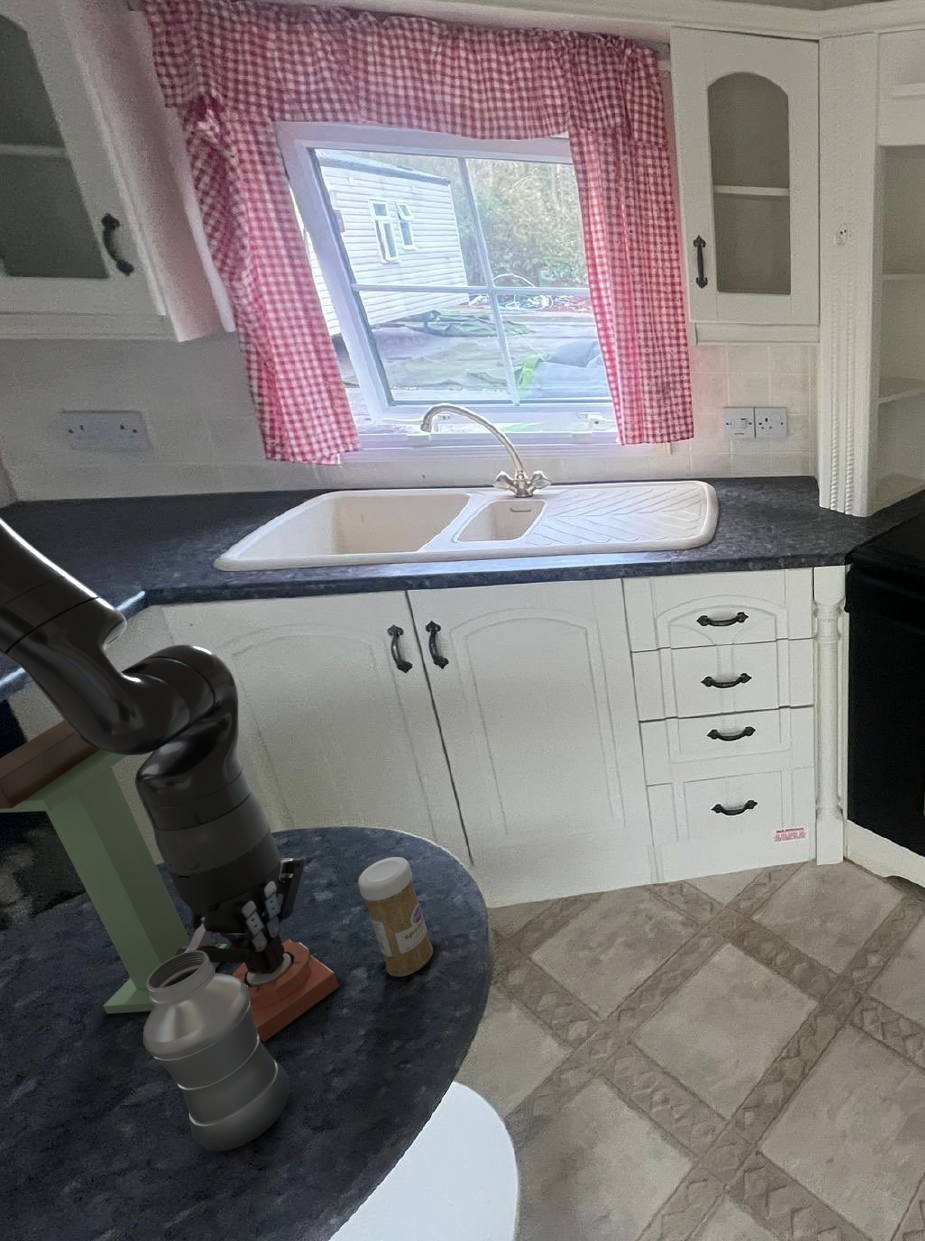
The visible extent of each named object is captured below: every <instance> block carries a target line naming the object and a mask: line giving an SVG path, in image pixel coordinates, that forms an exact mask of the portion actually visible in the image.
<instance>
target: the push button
mask: <svg viewBox="0 0 925 1241" xmlns="http://www.w3.org/2000/svg"><path fill="white" fill-rule="evenodd" d="M283 957H284V961H283V962H282V964H281V965H280V966H279V967H278V968H277V969H276V970H275V971H274V972H273V973H272V974H252V973H250V972H248V974H247V981H248V983H249V986H250V987H260V986H263V985H266V984H268V983H271V982H274V981H275V980H277V979H278V978H280V977H281V976H283V975H284V974H286V973H287V971H288V970H289V969H290V968H291V966H292V965H293V963H292V960H291V958H290V956H289V955H288V954H285V953H284V954H283Z"/></svg>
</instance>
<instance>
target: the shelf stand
mask: <svg viewBox="0 0 925 1241" xmlns="http://www.w3.org/2000/svg"><path fill="white" fill-rule="evenodd" d="M127 756H128V755H118V754H113V753H109V752H106V751H103V750H100V749H99V750H98V751H96V752H95V753H94V754H92V755H91V756H89V757H88V758H86V759H85V760H83V761H82V762H80V763H79V764H77V765H76V766H74V767H73V768H71V769H70V770H68V771H67V772H65V773H64V774H62V775H61V776H59V777H58V778H56V779H55V780H53V781H52V782H50V783H49V784H47V785H46V786H45V787H43V788H42V789H40V790H39V791H37V792H36V793H34V794H33V795H31V796H30V797H28V798H27V799H25V800H24V801H22V802H21V803H19V804H18V805H16V806H15V807H13V808H11V809H0V813H22V812H23V813H24V812H46V814H47V816H48V818H49V820H50V822H51V824H52V826H53V829H54V830H55V833H56V834H57V836H58V838H59V840H60V842H61V844H62V846H63V847H64V849H65V852H66V853H67V855H68V857H69V859H70V861H71V863H72V865H73V868H74V869H75V872H76V873H77V875H78V878H79V879H80V881H81V883H82V885H83V887H84V889H85V891H86V893H87V895H88V897H89V899H90V901H91V903H92V904H93V906H94V909H95V911H96V912H97V915H98V916H99V918H100V920H101V922H102V925H103V926H104V928H105V930H106V932H107V935H108V936H109V938H110V940H111V942H112V945H113V946H114V948H115V950H116V952H117V954H118V957H119V958H120V960H121V962H122V964H123V966H124V967H125V970H126V971H127V974H128V976H129V979H128V980H127V981H126V982H125V983H124V984H123V985H122V986H121V987H120V988H119V989H118V990H117V991H116V992H115V993H114V994H113V995H112V996H111V997H110V998H109V999H108V1000H107V1001H106V1002H105V1003H104V1004H103V1005H102V1007H103V1009H104V1011H105V1012H106V1014H108V1015H110V1014H124V1013H125V1014H126V1013H127V1014H128V1013H141V1012H151V1011H152V1009H153V1008H154V1006H155V1005H153V1004H152V1002H151V1000H150V993H149V991H148V989H147V979H148V977H149V976H150V974H151V973H152V972H153V971H154V970H155V969H156V968H157V967H159V966H160V965H161V964H163V963H164V962H166V961H167V960H169V959H171V958H173V957H175V954H176V952H177V951H178V950H179V949H180V948H181V947H188V946H189V944H190V942H191V939H190V937H189V935H188V933H187V930H186V929H185V926H184V924H183V922H182V919H181V917H180V915H179V913H178V911H177V909H176V906H175V904H174V902H173V900H172V898H171V895H170V893H169V891H168V889H167V887H166V884H165V883H164V880H163V877H162V876H161V873H160V871H159V869H158V867H157V865H156V862H155V861H154V858H153V856H152V853H151V852H150V849H149V847H148V845H147V842H146V841H145V838H144V835H143V834H142V832H141V829H140V827H139V826H138V822H137V821H136V818H135V816H134V813H133V812H132V809H131V807H130V805H129V803H128V801H127V798H126V796H125V794H124V792H123V790H122V788H121V785H120V783H119V781H118V779H117V776H116V774H115V772H114V770H113V767H114V766H115V765H116V764H118V763H119V762H121V761H122V760H123V759H124V758H126V757H127ZM220 944H221V945H220V947H219V948H229V947H230V946H229V944H228V943H223V944H222V943H220ZM211 963H213V965H214V967H215V970H216V969H217V968H218V967H219V965H221V963H222V962H211Z"/></svg>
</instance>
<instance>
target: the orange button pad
mask: <svg viewBox="0 0 925 1241" xmlns="http://www.w3.org/2000/svg"><path fill="white" fill-rule="evenodd" d="M282 944H283V947H284V953H285V954H288V955H289V956H290V958H291V960H292V963H293V965H292V966H291V968H290V969H289V970H288V971H287V973H286V974H284V975H283V976H281V977H280V978H278V979H277V980H275V981H274V982H271V983H268V984H266V985H263V986H260V987H250V986H249V983H248V981H247V974H248V972H249V971H248V969H247V967H246V964H245V962H244V963H241V964H240V965H239V967H237V969H236V970H235V971H234V972H233V973H232V975H231V976H234V977H236V978H237V979H239V980H240V981H242V982H243V983H244V984H245V985H246V986H247V989H248V992H249V995H250V1002H251V1008H252V1014H253V1020H254V1023H255V1026H256V1029H257V1031H258V1035H259V1037H260V1040H261V1042H262V1043H265V1042H266V1041H268V1040H270V1039H271V1038H272V1037H273V1036H274V1035H276V1034H277V1033H279V1032H280V1031H281V1030H283V1029H284V1028H285V1027H286V1026H288V1025H290V1024H291V1023H293V1021H295V1020H297V1019H298V1018H299V1017H300V1016H301V1015H303V1014H304V1013H306V1012H307V1011H308V1010H310V1009H311V1008H313V1007H314V1006H315V1005H316V1004H318V1003H319V1002H321V1001H322V1000H323V999H325V998H326V997H327V996H328V995H330V994H332V993H333V992H334V991H335V990H337V989H338V988H339V987H340V984H339V982H338V979H337V976H336V973H335V972H334V971H333V970H332V969H330V968H329V967H328V966H327V965H325V964H323V963H322V962H321V961H320V960H318V959H317V958H315V956H313V955H312V954H311V951H310V949H309V948H308V947H307V946H305V945H304V944H303V943H301V942H294V941H292V940H291V939H289V938H288V939H287V940H285V941H284V942H282Z"/></svg>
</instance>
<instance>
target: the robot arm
mask: <svg viewBox="0 0 925 1241" xmlns="http://www.w3.org/2000/svg"><path fill="white" fill-rule="evenodd" d="M127 627H128V621H127V618H126V617H125V615H124V614H123V613H122V612H121V611H120V610H119V609H118V608H116V607H115V606H114V605H113V604H111V603H110V602H108V601H107V600H106V599H105V598H102V597H101V596H100V595H99V594H97V593H96V592H95V591H94V590H93V589H91V588H90V587H88V586H87V585H85V584H84V583H82V582H81V581H79V580H78V579H77V578H76V577H75V576H73V575H71V574H70V573H69V572H67V571H66V570H65V569H63V568H62V567H61V566H59V565H58V564H56V563H55V562H53V561H52V560H51V559H50V558H48V557H47V556H45V554H43V553H42V552H40V551H39V550H38V549H37V548H35V547H34V546H33V545H32V544H30V542H28V541H27V540H26V539H25V538H23V537H22V536H21V535H20V534H19V533H18V532H16V530H14V529H13V528H12V527H11V526H10V525H9V524H8V523H7V522H5V520H4V519H3V518H2V517H0V654H1V655H3V656H4V657H6V658H7V659H9V660H10V661H12V662H13V663H15V664H16V665H17V666H19V667H20V668H21V669H22V670H23V671H24V672H25V673H26V674H27V675H28V677H29V678H30V679H31V680H32V682H33V683H34V685H36V686H37V688H38V689H39V690H40V692H41V693H42V694H43V695H44V696H45V698H46V699H47V700H48V701H49V702H50V703H51V704H52V706H53V707H54V709H55V710H56V711H57V712H58V714H59V715H60V716H61V718H62V719H63V720H65V721H66V723H67V724H68V725H69V727H70V728H71V729H72V730H73V731H74V732H75V733H76V734H77V735H78V736H79V737H80V738H81V739H82V740H84V741H85V742H86V743H88V744H90V745H91V746H93V747H95V748H97V749H100V750H103V751H106V752H109V753H113V754H118V755H127V756H142V755H146V754H149V753H151V754H150V755H149V756H148V757H147V758H146V759H145V761H144V762H143V763H142V764H141V765H140V767H139V768H138V770H137V771H136V774H135V777H134V786H135V789H136V792H137V795H138V797H139V799H140V802H141V804H142V806H143V808H144V811H145V812H146V815H147V818H148V819H149V822H150V824H151V826H152V830H153V834H154V840H155V844H156V847H157V849H158V851H159V854H160V856H161V858H162V860H163V863H164V865H165V867H166V870H167V872H168V874H169V876H170V879H171V881H172V883H173V886H174V887H175V889H176V892H177V894H178V897H179V898H180V900H181V901H182V902H183V903H184V904H185V905H186V906H187V907H188V908H189V909H190V910H191V921H190V923H191V927H192V928H193V930H195V931H194V932H193V935H192V937H191V939H190V944H189V946H188V947H181V948H180V949H179V950H178V951H177V952H176V954H175V956H177V955H180V954H182V953H185V952H189V951H195V950H198V951H204V952H205V953H206V954H207V955H208V957H209V960H210V962H221V963H226V964H228V963H231V964H242V963H244V962H245V964H246V967H247V969H248V971H249V972H250V973H252V974H272V973H273V972H274V971H275V970H276V969H277V968H278V967H279V966H280V965H281V964H282V962H283V961H284V957H283V954H284V947H283V944H282V943H283V942H282V939H281V937H280V932H281V924H282V922H283V920H286V919H289V918H290V917H291V915H292V913H293V911H294V906H295V902H296V900H297V899H296V898H297V895H298V890H299V886H300V883H301V879H302V876H303V871H304V867H305V863H306V862H305V859H304V858H292V857H291V858H289V857H280V856H281V855H280V852H279V850H278V847H277V843H276V842H275V839H274V835H273V833H272V830H271V828H270V825H269V822H268V820H267V817H266V815H265V814H266V813H265V812H264V809H263V806H262V805H261V803H260V801H259V798H258V797H257V796H256V795H255V794H256V793H254V791H253V789H252V787H251V785H250V783H249V779H248V777H247V774H246V771H245V769H244V766H243V764H242V761H241V759H240V756H239V754H238V749H239V738H240V737H239V736H240V700H239V691H238V690H239V689H238V685H237V681H236V678H235V676H234V673H233V672H232V669H230V667H229V666H228V664H227V663H226V662H225V661H224V660H223V659H222V658H221V657H220V656H218V655H217V654H216V653H214V652H213V651H211V650H209V649H207V648H205V647H202V646H198V645H194V644H193V645H192V644H176V645H170V646H167V647H165V648H162V649H160V650H158V651H155V652H154V653H152V654H150V655H148V656H146V657H145V658H142V659H141V660H139V661H137V662H136V663H134V664H132V665H130V666H128V667H127V668H125V669H123V670H121V671H120V670H119V669H118V668H116V666H115V664H114V663H113V662H112V661H111V659H110V657H109V656H108V653H107V652H106V650H107V649H108V648H109V647H110V646H112V644H114V643H115V642H116V641H117V640H118V639H119V638H120V637H121V636H122V635H123V634H124V632H125V631H126V629H127ZM279 895H282V900H281V902H280V903H281V904H279V901H278V899H279ZM213 933H215V934H219V935H220V936H221V937H222V938H224V939H226V940H227V941H228V942H229V944H230V946H229V948H219V947H220V945H221V944H222V943H221V942H218V940H217V939H216V938H215V937H213Z"/></svg>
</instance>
